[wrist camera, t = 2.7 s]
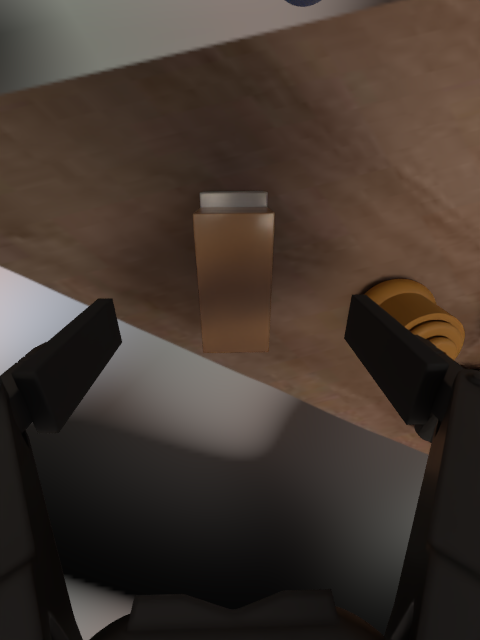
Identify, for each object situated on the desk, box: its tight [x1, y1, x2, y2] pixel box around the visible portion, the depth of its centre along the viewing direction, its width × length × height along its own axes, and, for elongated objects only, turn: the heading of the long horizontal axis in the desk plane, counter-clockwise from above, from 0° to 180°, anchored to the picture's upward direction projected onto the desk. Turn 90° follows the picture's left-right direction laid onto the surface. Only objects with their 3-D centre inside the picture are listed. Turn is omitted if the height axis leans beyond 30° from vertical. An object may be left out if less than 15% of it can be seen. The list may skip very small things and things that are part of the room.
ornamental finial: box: [364, 279, 465, 360], centre depth 24 cm, size 8×8×8 cm
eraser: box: [193, 191, 275, 353], centre depth 22 cm, size 12×5×7 cm, turn 0°
